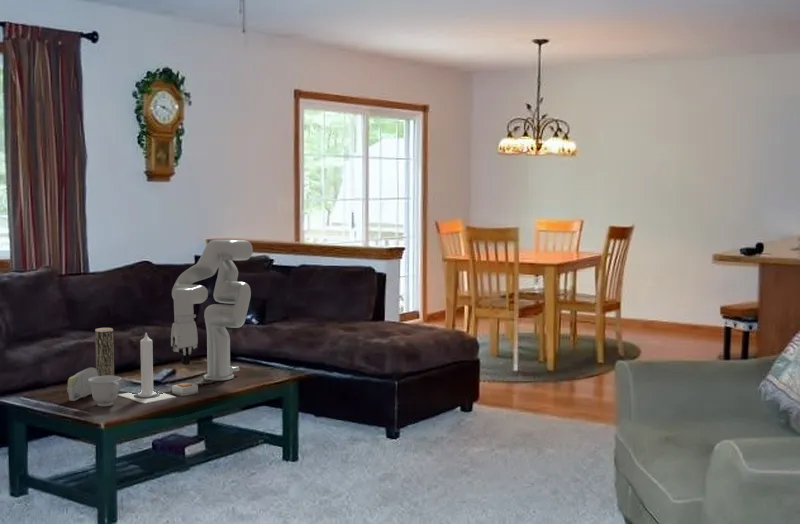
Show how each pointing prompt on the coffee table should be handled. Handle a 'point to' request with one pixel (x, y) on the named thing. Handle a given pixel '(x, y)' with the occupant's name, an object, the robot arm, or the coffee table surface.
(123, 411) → the coffee table surface
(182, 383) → the button
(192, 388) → the button housing
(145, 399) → the paper sheet
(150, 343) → the candle
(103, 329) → the wooden log
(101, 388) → the teacup
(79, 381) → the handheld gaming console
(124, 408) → the coffee table surface
